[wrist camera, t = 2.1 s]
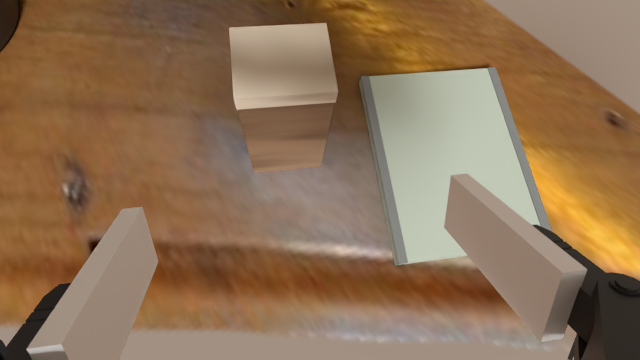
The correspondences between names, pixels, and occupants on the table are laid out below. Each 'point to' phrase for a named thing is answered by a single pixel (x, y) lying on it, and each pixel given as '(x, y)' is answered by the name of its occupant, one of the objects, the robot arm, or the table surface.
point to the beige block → (283, 93)
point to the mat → (443, 153)
